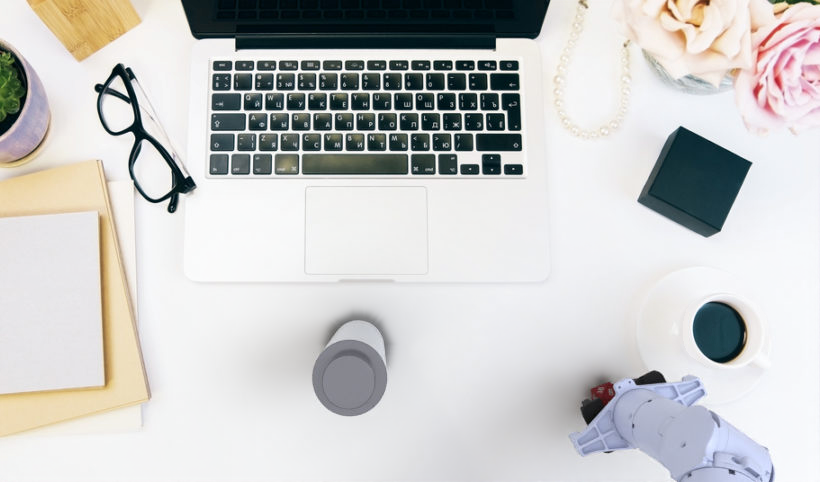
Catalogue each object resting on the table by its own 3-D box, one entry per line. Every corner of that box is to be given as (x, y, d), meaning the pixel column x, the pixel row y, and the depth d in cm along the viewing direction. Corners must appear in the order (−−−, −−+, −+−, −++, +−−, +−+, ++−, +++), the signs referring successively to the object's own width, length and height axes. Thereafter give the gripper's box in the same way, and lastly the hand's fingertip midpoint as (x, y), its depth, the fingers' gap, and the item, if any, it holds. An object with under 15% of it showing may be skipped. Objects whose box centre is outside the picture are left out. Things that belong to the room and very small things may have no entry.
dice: (577, 392, 71) (589, 398, 67) (609, 372, 71) (622, 378, 67) (594, 419, 71) (607, 428, 67) (626, 400, 71) (641, 407, 67)
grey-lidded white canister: (393, 359, 72) (401, 401, 48) (345, 382, 72) (329, 436, 48) (370, 311, 72) (366, 329, 48) (323, 334, 72) (296, 363, 48)
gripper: (708, 356, 57) (644, 340, 70) (574, 423, 56) (536, 394, 70) (744, 424, 56) (673, 395, 70) (609, 492, 56) (563, 449, 69)
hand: (606, 398), depth 70 cm, fingers closed on dice, 4 cm apart
